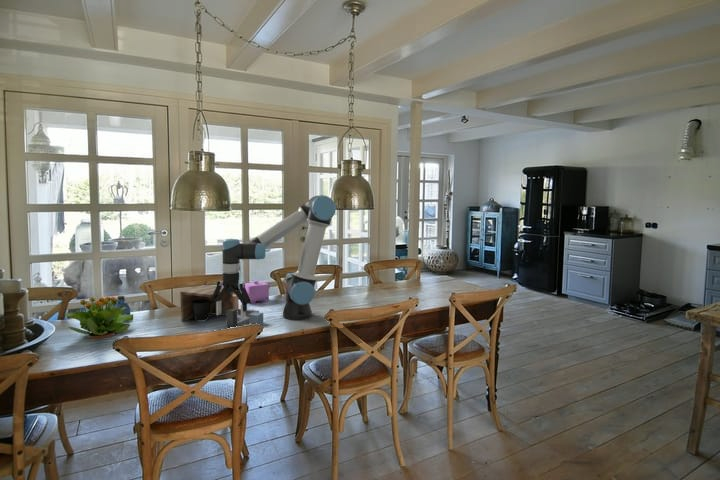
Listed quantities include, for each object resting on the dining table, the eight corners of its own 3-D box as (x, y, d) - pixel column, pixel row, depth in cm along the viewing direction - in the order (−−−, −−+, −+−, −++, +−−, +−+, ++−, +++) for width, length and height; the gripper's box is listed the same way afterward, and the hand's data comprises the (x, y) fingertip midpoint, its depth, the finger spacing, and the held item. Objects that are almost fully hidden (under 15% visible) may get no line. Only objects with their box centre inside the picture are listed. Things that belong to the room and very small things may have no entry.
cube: (263, 322, 209) (263, 312, 208) (257, 325, 204) (257, 315, 203) (254, 321, 210) (254, 311, 210) (248, 324, 206) (248, 314, 205)
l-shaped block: (238, 311, 229) (238, 294, 228) (234, 312, 226) (234, 296, 225) (215, 308, 234) (214, 292, 233) (211, 309, 231) (210, 293, 230)
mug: (218, 320, 212) (218, 301, 211) (193, 322, 207) (192, 303, 206) (217, 315, 220) (216, 298, 219) (192, 318, 215) (192, 300, 214)
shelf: (233, 315, 220) (232, 287, 219) (211, 324, 204) (210, 294, 202) (205, 311, 226) (204, 284, 225) (181, 320, 210) (180, 291, 208)
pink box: (266, 298, 259) (266, 278, 257) (272, 301, 250) (272, 280, 249) (234, 302, 248) (234, 281, 246) (239, 306, 239) (239, 284, 238)
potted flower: (125, 342, 178) (123, 302, 176) (59, 348, 170) (56, 307, 168) (135, 325, 202) (133, 290, 200) (77, 330, 194) (75, 293, 192)
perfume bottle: (126, 317, 215) (125, 294, 214) (130, 319, 211) (129, 296, 209) (113, 319, 211) (112, 296, 209) (117, 322, 206) (115, 298, 205)
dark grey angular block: (260, 316, 219) (260, 299, 218) (233, 330, 196) (232, 311, 196) (239, 314, 223) (239, 297, 222) (210, 326, 201) (210, 308, 200)
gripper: (258, 273, 195) (258, 317, 197) (214, 268, 203) (214, 311, 205) (249, 275, 188) (248, 321, 190) (203, 271, 196) (203, 315, 198)
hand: (230, 316), depth 198 cm, fingers open, 13 cm apart
